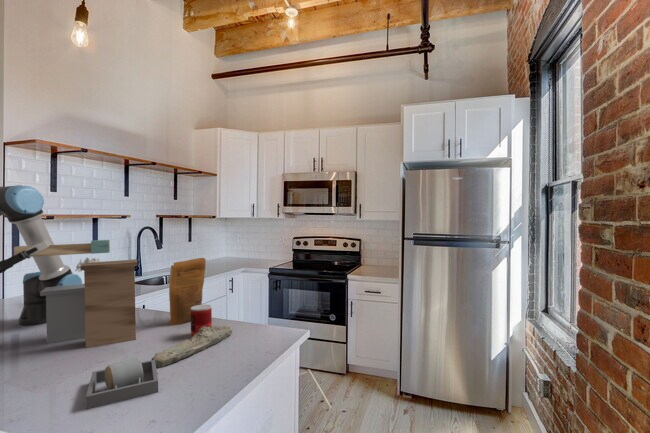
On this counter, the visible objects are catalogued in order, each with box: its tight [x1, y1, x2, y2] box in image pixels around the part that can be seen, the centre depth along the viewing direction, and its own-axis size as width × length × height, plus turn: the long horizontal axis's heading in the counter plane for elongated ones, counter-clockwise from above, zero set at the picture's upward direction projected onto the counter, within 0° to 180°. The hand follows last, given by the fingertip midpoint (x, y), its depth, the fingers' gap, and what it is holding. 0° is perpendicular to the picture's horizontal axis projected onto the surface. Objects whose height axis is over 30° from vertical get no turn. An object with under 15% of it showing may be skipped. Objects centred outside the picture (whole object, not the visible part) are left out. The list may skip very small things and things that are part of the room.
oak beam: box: [13, 239, 111, 258], centre depth 137 cm, size 6×30×5 cm, turn 119°
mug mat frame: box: [85, 359, 159, 410], centre depth 95 cm, size 16×16×3 cm
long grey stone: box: [151, 325, 233, 368], centre depth 123 cm, size 35×5×10 cm
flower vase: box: [74, 257, 100, 273], centre depth 197 cm, size 13×18×25 cm
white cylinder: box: [104, 355, 144, 391], centre depth 94 cm, size 11×8×8 cm
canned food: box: [190, 304, 213, 338], centre depth 138 cm, size 8×8×11 cm
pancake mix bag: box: [168, 257, 207, 326], centre depth 156 cm, size 7×19×28 cm, turn 144°
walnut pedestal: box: [79, 258, 138, 349], centre depth 133 cm, size 11×18×30 cm, turn 119°
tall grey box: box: [40, 283, 86, 345], centre depth 138 cm, size 10×20×20 cm, turn 119°
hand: (47, 243), depth 134 cm, fingers closed on oak beam, 3 cm apart
